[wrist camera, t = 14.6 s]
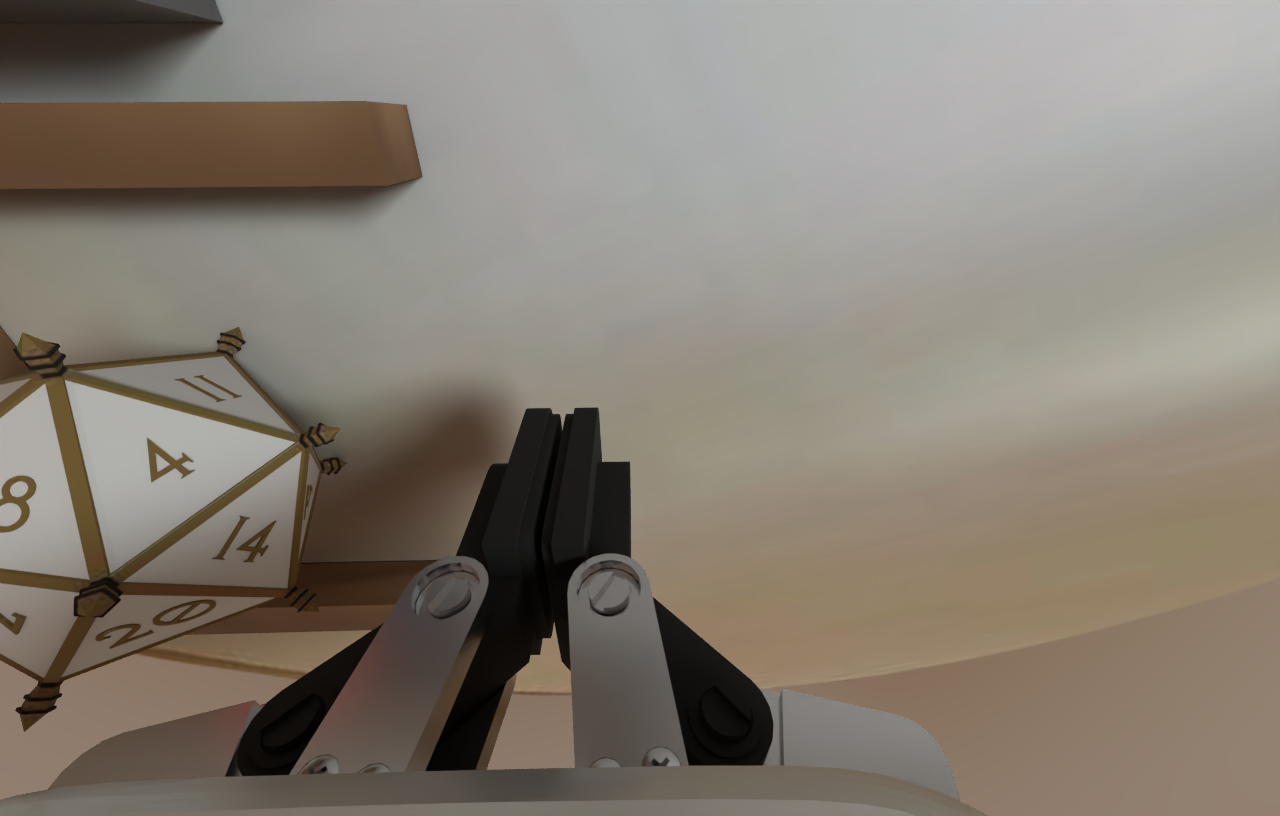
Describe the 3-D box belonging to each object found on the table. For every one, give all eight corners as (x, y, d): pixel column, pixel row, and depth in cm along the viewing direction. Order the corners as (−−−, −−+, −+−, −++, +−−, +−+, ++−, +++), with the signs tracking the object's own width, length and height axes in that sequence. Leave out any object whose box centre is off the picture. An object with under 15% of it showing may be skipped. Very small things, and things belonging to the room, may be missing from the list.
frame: (-237, 108, 10) (-405, 105, 9) (406, 105, 11) (364, 101, 9) (167, 591, 19) (123, 636, 18) (514, 583, 20) (503, 626, 18)
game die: (350, 331, 18) (409, 395, 10) (327, 537, 19) (363, 730, 11) (-58, 272, 12) (-640, 317, 4) (-48, 572, 13) (-476, 1006, 6)
